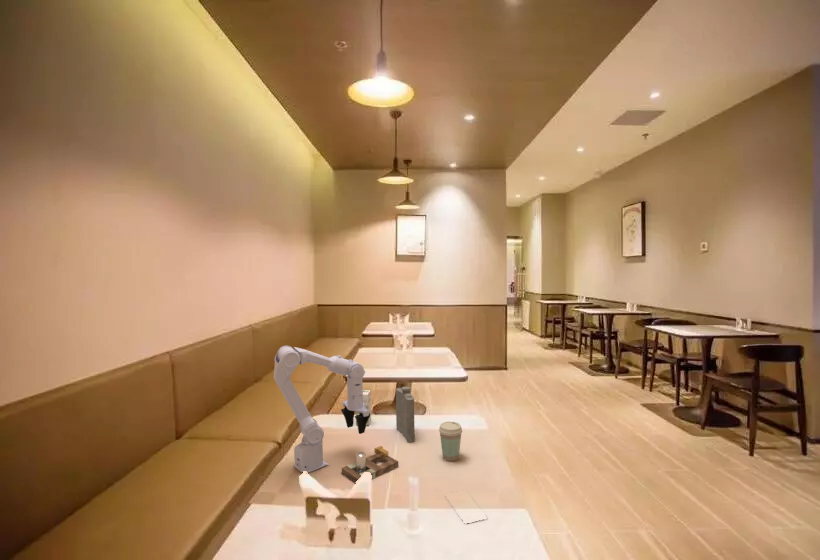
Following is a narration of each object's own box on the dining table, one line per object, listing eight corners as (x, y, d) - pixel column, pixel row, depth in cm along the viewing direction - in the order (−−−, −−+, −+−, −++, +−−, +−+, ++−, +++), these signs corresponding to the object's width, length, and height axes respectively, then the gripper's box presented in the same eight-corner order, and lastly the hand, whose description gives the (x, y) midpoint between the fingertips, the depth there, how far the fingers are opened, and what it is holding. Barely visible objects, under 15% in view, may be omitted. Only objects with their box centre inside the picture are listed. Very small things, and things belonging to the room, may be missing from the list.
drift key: (383, 458, 145) (383, 453, 145) (374, 453, 149) (374, 448, 149) (389, 455, 147) (389, 450, 147) (380, 450, 151) (380, 445, 151)
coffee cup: (461, 464, 144) (461, 431, 144) (437, 462, 146) (437, 429, 146) (463, 452, 153) (463, 421, 152) (440, 451, 154) (440, 420, 154)
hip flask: (395, 428, 176) (394, 382, 175) (404, 426, 178) (403, 381, 177) (408, 443, 161) (407, 394, 160) (417, 441, 163) (417, 392, 162)
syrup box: (371, 421, 184) (370, 389, 184) (368, 426, 179) (368, 393, 178) (358, 420, 185) (358, 389, 184) (356, 425, 179) (355, 393, 178)
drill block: (358, 485, 132) (358, 479, 132) (341, 473, 139) (341, 467, 139) (398, 466, 143) (398, 461, 143) (381, 456, 150) (380, 451, 150)
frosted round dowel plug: (359, 478, 136) (359, 457, 136) (354, 474, 139) (353, 454, 138) (368, 474, 138) (367, 454, 138) (362, 470, 141) (361, 450, 141)
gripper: (375, 396, 149) (376, 432, 150) (353, 387, 160) (353, 421, 160) (359, 400, 144) (360, 438, 145) (337, 391, 155) (338, 426, 156)
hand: (355, 429), depth 152 cm, fingers open, 7 cm apart
